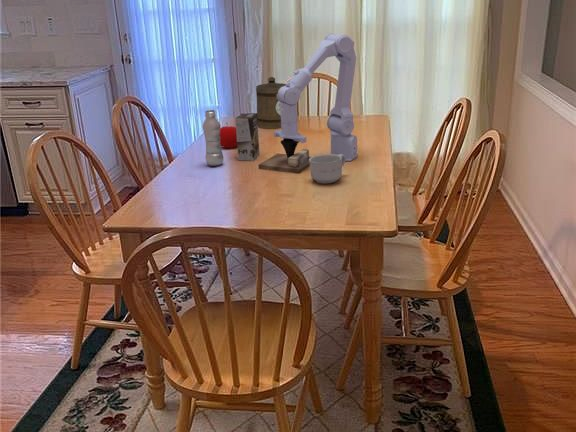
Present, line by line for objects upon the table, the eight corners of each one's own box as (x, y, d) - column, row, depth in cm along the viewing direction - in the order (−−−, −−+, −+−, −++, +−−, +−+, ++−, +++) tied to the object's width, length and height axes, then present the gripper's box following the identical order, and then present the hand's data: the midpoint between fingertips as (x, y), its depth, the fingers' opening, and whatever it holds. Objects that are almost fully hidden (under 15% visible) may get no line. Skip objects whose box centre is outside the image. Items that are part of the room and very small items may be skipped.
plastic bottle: (227, 163, 211) (222, 109, 203) (217, 168, 205) (212, 113, 198) (212, 161, 214) (207, 108, 206) (202, 166, 208) (197, 112, 200)
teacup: (320, 188, 182) (319, 164, 179) (303, 179, 191) (303, 156, 188) (356, 180, 188) (356, 157, 185) (338, 172, 197) (338, 149, 194)
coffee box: (254, 160, 212) (251, 118, 206) (237, 160, 214) (234, 118, 208) (260, 154, 221) (257, 112, 214) (244, 153, 222) (241, 112, 216)
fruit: (242, 143, 235) (240, 120, 232) (238, 150, 227) (236, 125, 223) (220, 144, 236) (218, 120, 233) (216, 150, 228) (213, 125, 224)
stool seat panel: (316, 161, 209) (316, 151, 207) (299, 173, 197) (298, 162, 195) (277, 157, 216) (277, 147, 214) (258, 168, 203) (258, 158, 202)
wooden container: (286, 129, 256) (284, 79, 247) (254, 129, 258) (251, 80, 250) (292, 121, 269) (290, 74, 261) (261, 121, 272) (258, 74, 263)
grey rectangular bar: (302, 156, 209) (302, 148, 208) (310, 156, 208) (310, 149, 207) (288, 165, 199) (287, 158, 198) (295, 166, 198) (295, 158, 197)
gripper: (266, 120, 200) (268, 157, 205) (295, 126, 190) (296, 165, 195) (281, 117, 204) (282, 153, 209) (310, 122, 194) (311, 161, 200)
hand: (290, 159), depth 203 cm, fingers closed
